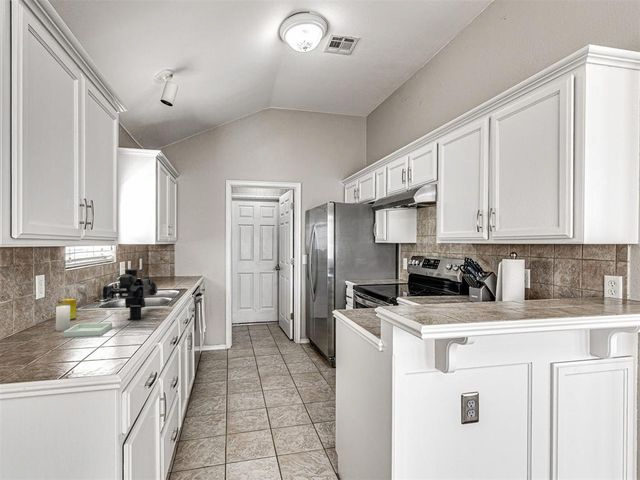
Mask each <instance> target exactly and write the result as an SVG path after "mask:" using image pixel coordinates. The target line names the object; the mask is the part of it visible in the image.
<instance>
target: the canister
mask: <svg viewBox="0 0 640 480" xmlns="http://www.w3.org/2000/svg"><path fill="white" fill-rule="evenodd" d="M69 328H71V320H70V305H63V306H58V305H57V306H56V307H55V331H57V332H64V331H65V330H67V329H69Z"/></svg>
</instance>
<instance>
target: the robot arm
mask: <svg viewBox="0 0 640 480" xmlns="http://www.w3.org/2000/svg"><path fill="white" fill-rule="evenodd" d="M124 272H125V273H122V274H121V275H120V277H119V278H118V279H119V285H118V288H114V286H113V285H104V286H103V287H102V298H103V299H104V300H113V299H114V297H115V294H118V295H119V297H120V298H125V299H124V304H125V309H129V317H128V318H127V320H128V321H130V320H131V321H132V320H133V321H134V320H141V319H143V318H144V316H143V315H142V309H143V308H146V300H145V299H146V298H148V297H149V296H156V295H157V293H158V290H159V289H158V286H157V283H155V282H154V281H153V280H152V278H138V268H125V270H124Z"/></svg>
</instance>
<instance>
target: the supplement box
mask: <svg viewBox="0 0 640 480" xmlns="http://www.w3.org/2000/svg"><path fill="white" fill-rule="evenodd" d="M63 305H70V321H74V320H75V321H76V320H77V299H76V298H62V299H58V300H57V306H63Z"/></svg>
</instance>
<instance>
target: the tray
mask: <svg viewBox="0 0 640 480" xmlns="http://www.w3.org/2000/svg"><path fill="white" fill-rule="evenodd" d="M111 329H113V322H95V323H93V322H92V323H91V322H90V323H89V322H88V323H77V324H75V325H73V326H70V328H69V329H67V330H64V331H62V338H83V337H84V338H85V337H102V336H103V335H104V334H105V333H107V332H108V331H110V330H111Z"/></svg>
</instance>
